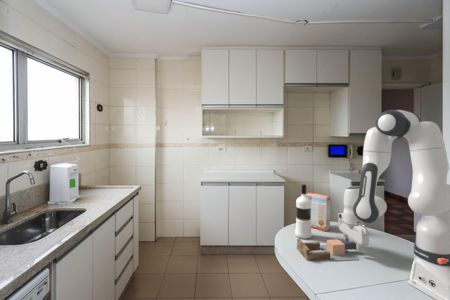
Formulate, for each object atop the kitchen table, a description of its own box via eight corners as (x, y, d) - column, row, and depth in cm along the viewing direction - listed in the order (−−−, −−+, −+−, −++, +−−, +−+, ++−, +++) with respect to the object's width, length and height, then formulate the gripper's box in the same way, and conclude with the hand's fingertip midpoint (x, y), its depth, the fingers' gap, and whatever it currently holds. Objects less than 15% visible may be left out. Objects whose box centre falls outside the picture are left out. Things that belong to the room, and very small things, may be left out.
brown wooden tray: (330, 259, 119) (330, 248, 118) (306, 260, 118) (306, 250, 117) (318, 247, 131) (318, 238, 130) (297, 248, 129) (297, 239, 129)
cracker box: (330, 229, 156) (331, 195, 154) (326, 231, 151) (326, 197, 150) (309, 223, 166) (309, 192, 164) (304, 225, 161) (305, 193, 160)
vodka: (293, 232, 150) (294, 182, 149) (310, 233, 149) (310, 183, 147) (296, 239, 141) (296, 186, 139) (313, 240, 140) (314, 186, 138)
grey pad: (359, 259, 118) (359, 259, 118) (334, 261, 117) (334, 260, 117) (340, 244, 134) (340, 244, 134) (318, 245, 133) (318, 245, 133)
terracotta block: (358, 253, 123) (358, 243, 123) (332, 255, 122) (333, 245, 122) (350, 248, 129) (351, 238, 129) (326, 249, 128) (326, 239, 127)
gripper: (373, 226, 115) (372, 255, 116) (347, 212, 135) (346, 237, 136) (360, 226, 114) (359, 256, 115) (336, 212, 135) (335, 238, 135)
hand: (352, 246), depth 126 cm, fingers open, 8 cm apart
